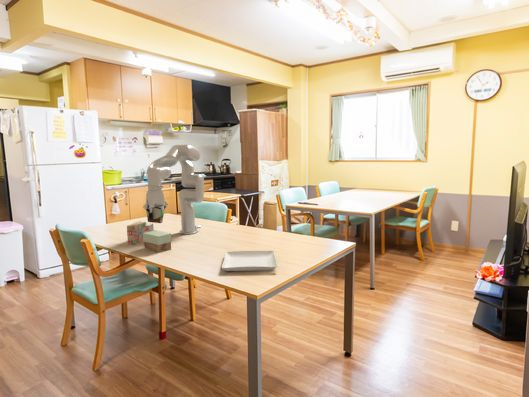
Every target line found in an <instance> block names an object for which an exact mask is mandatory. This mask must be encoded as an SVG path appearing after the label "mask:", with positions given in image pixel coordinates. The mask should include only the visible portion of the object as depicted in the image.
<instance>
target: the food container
mask: <svg viewBox="0 0 529 397" xmlns="http://www.w3.org/2000/svg"><path fill="white" fill-rule="evenodd" d="M147 208H149V207H147ZM163 210H164V211H165V209H164V206H161V207H155V208H153V209H152V213H153V219H152V220H151V219H149V213H148V212H147V211H146V210H145V211H146V212H145V213H146V218H147V222H148V223H151V224H162V223H163V221H164V220H163V219H164V216H163V215H164V211H163Z"/></svg>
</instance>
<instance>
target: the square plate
mask: <svg viewBox="0 0 529 397" xmlns="http://www.w3.org/2000/svg"><path fill="white" fill-rule="evenodd" d="M276 268H278V262H277V259H276V254H275V250H236V251H233V250H232V251H225V253H224V258H223V262H222V264H221V269H222V270H223V271H226V272H262V271H272V270H275V269H276Z"/></svg>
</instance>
